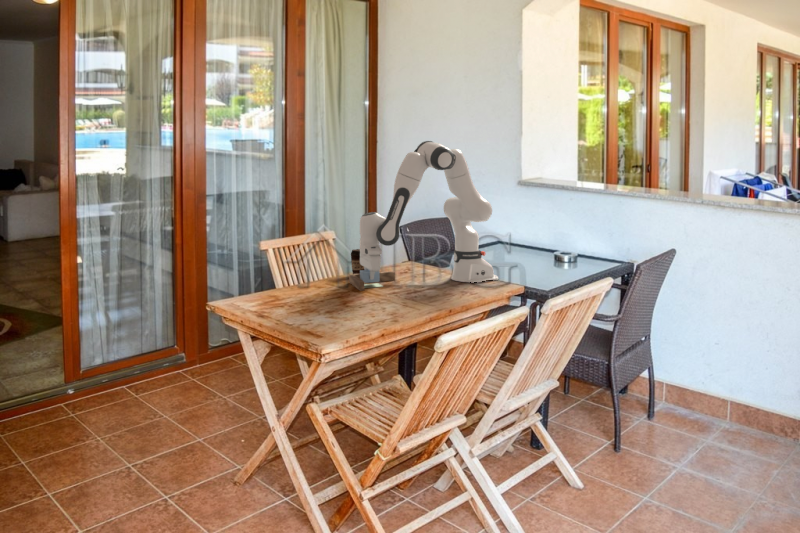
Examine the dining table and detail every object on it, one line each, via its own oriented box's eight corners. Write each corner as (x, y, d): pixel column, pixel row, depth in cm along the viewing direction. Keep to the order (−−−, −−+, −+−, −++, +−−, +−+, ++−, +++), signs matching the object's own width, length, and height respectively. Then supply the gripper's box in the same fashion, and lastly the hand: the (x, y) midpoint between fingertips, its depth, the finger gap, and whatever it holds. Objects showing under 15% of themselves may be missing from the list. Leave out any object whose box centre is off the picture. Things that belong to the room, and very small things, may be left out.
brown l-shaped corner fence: (393, 279, 359) (393, 271, 358) (406, 287, 343) (406, 278, 342) (348, 282, 352) (348, 274, 351) (359, 290, 335) (359, 281, 335)
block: (359, 281, 345) (359, 270, 344) (376, 279, 348) (376, 269, 347) (362, 283, 341) (362, 272, 340) (379, 281, 344) (379, 271, 343)
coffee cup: (365, 278, 362) (365, 251, 359) (348, 277, 364) (348, 250, 361) (369, 274, 370) (369, 248, 368) (353, 273, 372) (353, 248, 369)
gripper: (356, 245, 350) (356, 274, 353) (369, 252, 331) (369, 282, 334) (369, 244, 352) (369, 273, 355) (383, 251, 333) (383, 281, 336)
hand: (369, 278), depth 344 cm, fingers closed on block, 4 cm apart
